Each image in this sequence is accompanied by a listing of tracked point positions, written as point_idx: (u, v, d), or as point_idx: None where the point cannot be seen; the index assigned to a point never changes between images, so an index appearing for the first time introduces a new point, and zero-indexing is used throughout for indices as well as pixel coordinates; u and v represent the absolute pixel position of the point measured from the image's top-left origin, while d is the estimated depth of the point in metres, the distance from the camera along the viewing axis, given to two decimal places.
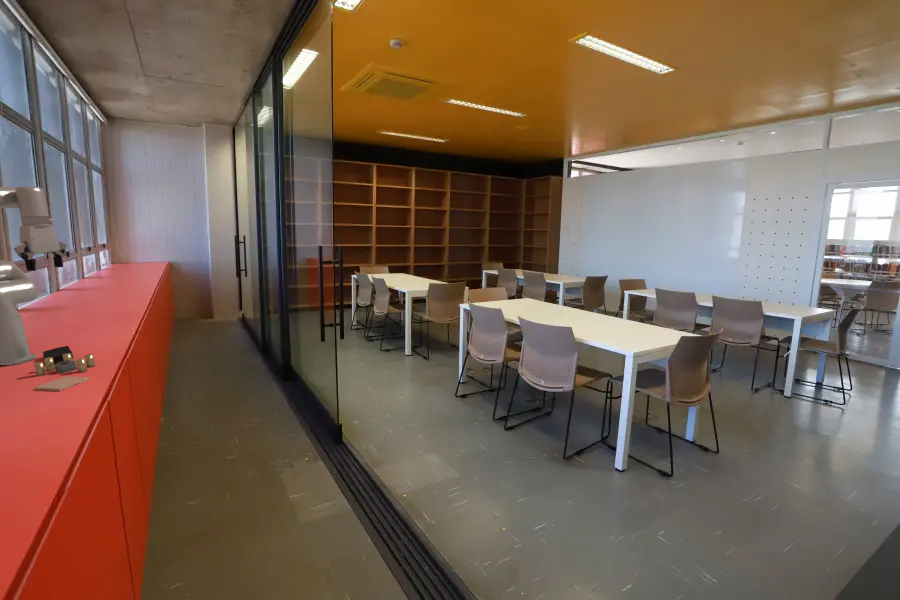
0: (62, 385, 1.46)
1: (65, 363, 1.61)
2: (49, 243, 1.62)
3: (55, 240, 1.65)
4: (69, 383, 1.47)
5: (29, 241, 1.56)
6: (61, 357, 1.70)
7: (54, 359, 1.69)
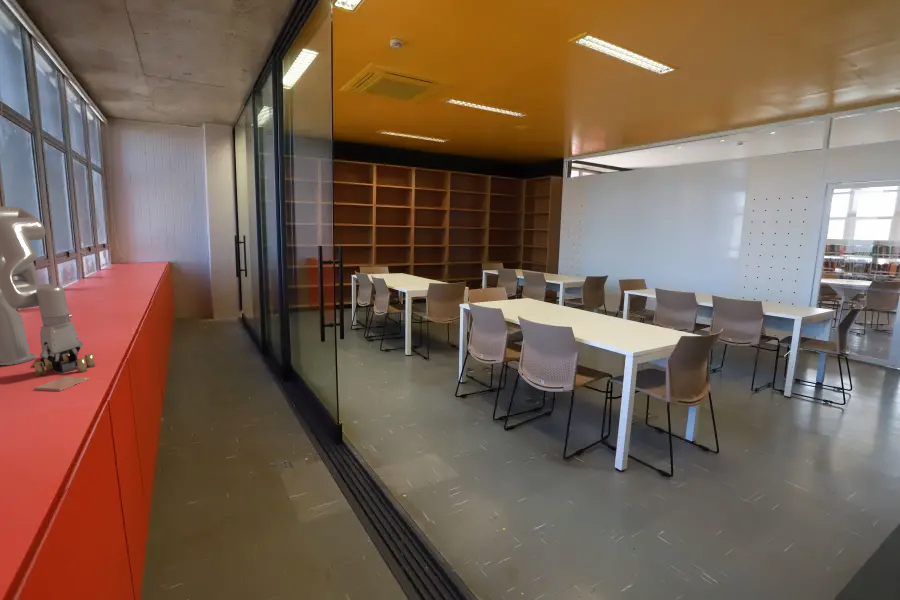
0: (62, 385, 1.46)
1: (65, 363, 1.61)
2: (69, 340, 1.61)
3: (75, 336, 1.63)
4: (69, 383, 1.47)
5: (50, 342, 1.55)
6: None
7: None
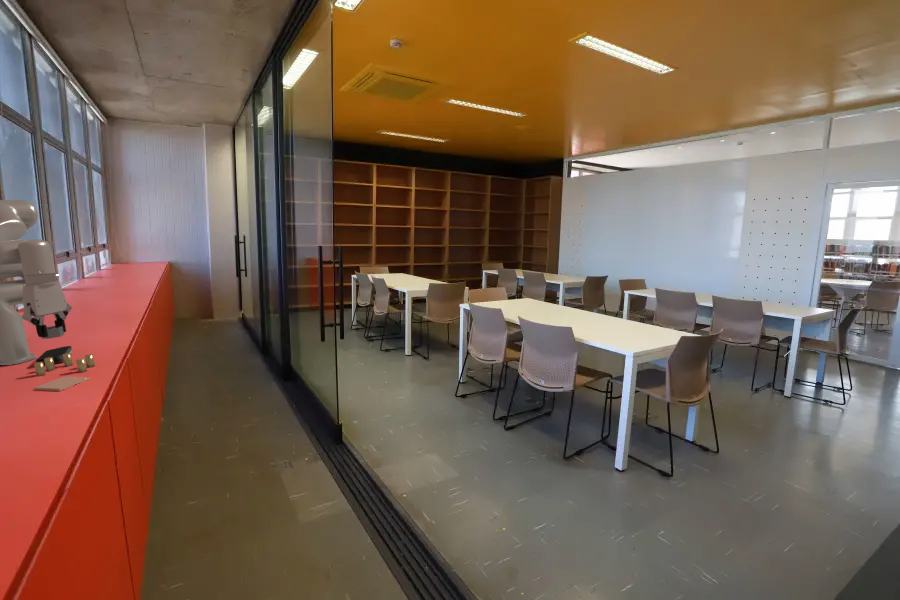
0: (62, 385, 1.46)
1: (51, 327, 1.44)
2: (56, 303, 1.44)
3: (62, 298, 1.46)
4: (69, 383, 1.47)
5: (33, 303, 1.38)
6: None
7: None
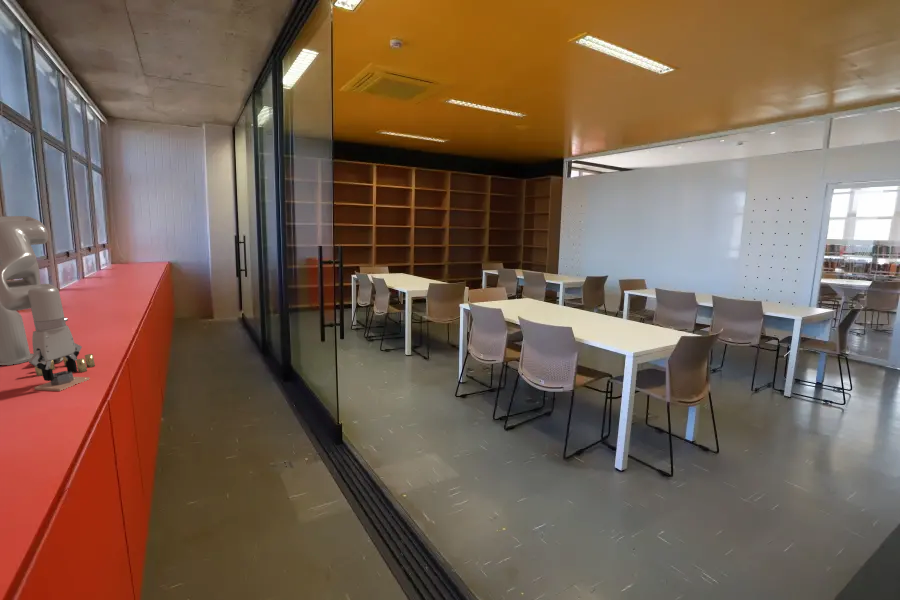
0: (62, 385, 1.46)
1: (61, 374, 1.47)
2: (64, 346, 1.47)
3: (71, 341, 1.49)
4: (69, 383, 1.47)
5: (43, 348, 1.41)
6: None
7: (39, 361, 1.67)
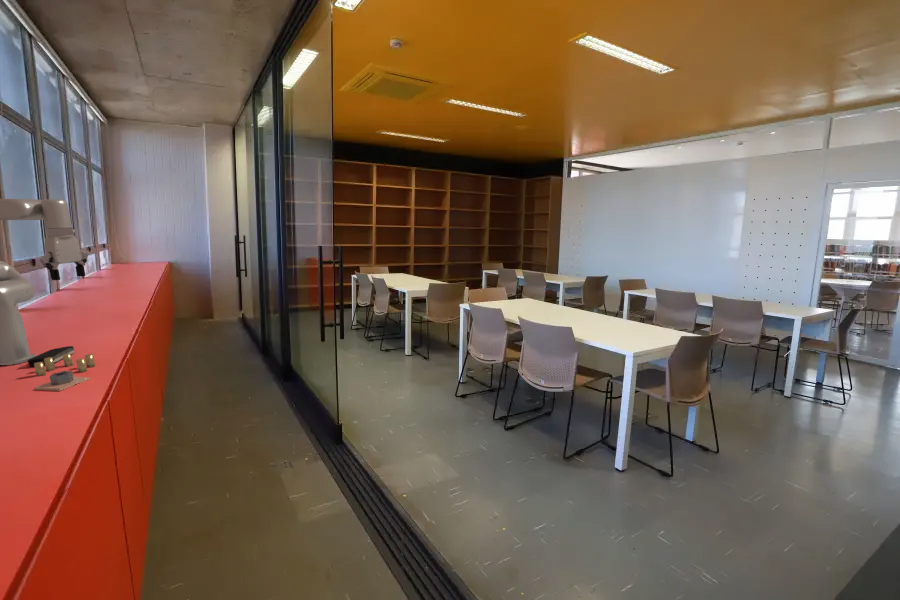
0: (62, 385, 1.46)
1: (61, 374, 1.47)
2: (72, 253, 1.69)
3: (78, 250, 1.71)
4: (69, 383, 1.47)
5: (54, 252, 1.63)
6: (40, 360, 1.67)
7: (33, 361, 1.67)
